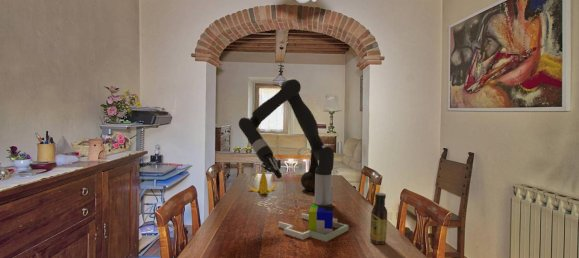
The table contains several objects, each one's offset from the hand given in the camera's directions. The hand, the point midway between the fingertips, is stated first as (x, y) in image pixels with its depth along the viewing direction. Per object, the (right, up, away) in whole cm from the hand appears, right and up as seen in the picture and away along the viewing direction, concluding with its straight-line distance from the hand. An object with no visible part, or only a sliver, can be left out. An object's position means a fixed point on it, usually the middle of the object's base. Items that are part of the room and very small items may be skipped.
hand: (280, 177), depth 156 cm
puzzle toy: (+18, -21, -16) cm, 32 cm away
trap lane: (+14, -21, -12) cm, 28 cm away
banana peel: (-11, -18, +55) cm, 59 cm away
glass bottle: (+21, -18, +62) cm, 68 cm away
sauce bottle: (+40, -22, -26) cm, 53 cm away
